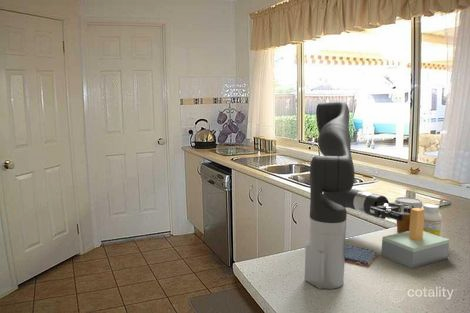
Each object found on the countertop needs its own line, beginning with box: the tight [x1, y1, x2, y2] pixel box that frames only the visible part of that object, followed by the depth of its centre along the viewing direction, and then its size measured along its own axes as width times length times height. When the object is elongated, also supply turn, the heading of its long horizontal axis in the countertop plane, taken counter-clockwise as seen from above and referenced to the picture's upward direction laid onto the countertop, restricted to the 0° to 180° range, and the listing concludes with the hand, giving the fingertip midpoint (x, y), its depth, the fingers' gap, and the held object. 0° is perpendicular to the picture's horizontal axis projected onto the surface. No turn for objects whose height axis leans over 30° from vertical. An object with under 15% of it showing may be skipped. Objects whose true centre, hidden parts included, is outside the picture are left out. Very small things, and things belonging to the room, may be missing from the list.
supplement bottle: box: [422, 203, 443, 237], centre depth 130 cm, size 7×7×13 cm
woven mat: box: [344, 244, 379, 268], centre depth 119 cm, size 10×11×2 cm
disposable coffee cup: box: [393, 196, 424, 233], centre depth 141 cm, size 10×10×12 cm
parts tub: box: [380, 239, 450, 270], centre depth 119 cm, size 16×11×5 cm
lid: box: [381, 208, 450, 252], centre depth 118 cm, size 16×11×11 cm
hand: (411, 215), depth 119 cm, fingers open, 8 cm apart
